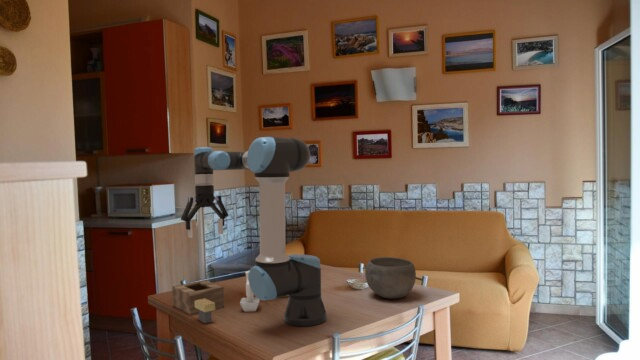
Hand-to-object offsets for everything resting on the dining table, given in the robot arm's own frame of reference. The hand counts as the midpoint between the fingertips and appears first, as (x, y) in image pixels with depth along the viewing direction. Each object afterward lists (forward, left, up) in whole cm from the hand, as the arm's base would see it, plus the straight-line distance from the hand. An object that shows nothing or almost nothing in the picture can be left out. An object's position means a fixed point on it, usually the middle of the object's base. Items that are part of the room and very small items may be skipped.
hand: (205, 235), depth 190 cm
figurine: (-24, -6, -27) cm, 37 cm away
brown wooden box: (-6, +7, -27) cm, 28 cm away
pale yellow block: (-24, +13, -22) cm, 35 cm away
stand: (-24, +13, -27) cm, 38 cm away
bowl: (-50, -58, -27) cm, 81 cm away
